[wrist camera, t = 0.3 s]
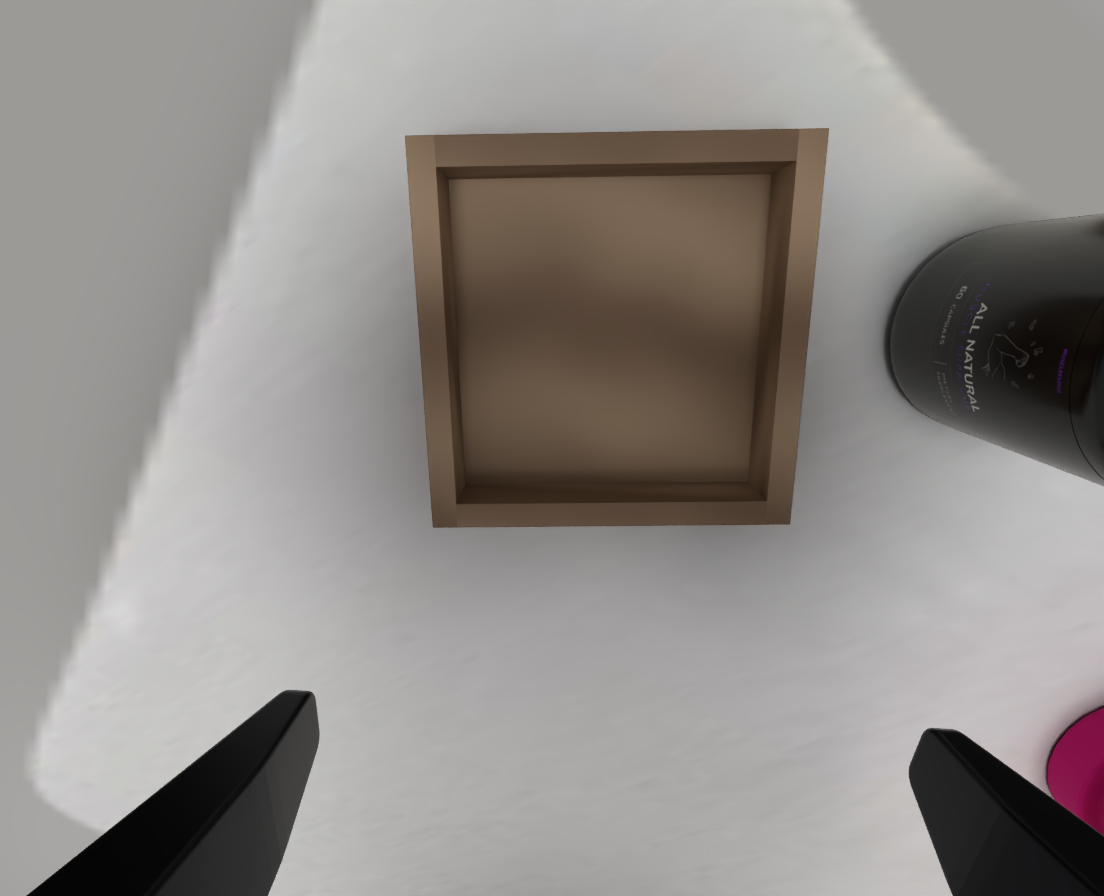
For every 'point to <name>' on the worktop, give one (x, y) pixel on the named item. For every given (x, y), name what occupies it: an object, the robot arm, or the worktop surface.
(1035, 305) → the supplement bottle
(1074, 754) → the pepper mill
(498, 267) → the tray
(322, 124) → the worktop surface
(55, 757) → the worktop surface
